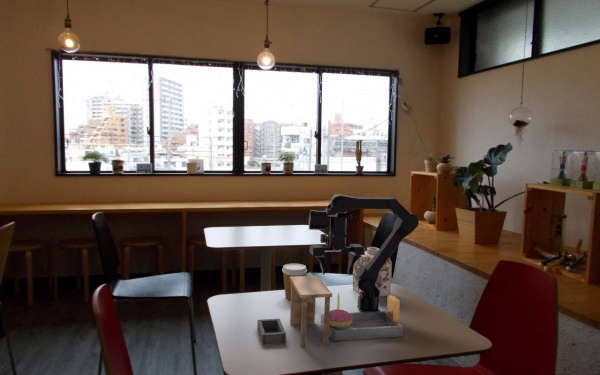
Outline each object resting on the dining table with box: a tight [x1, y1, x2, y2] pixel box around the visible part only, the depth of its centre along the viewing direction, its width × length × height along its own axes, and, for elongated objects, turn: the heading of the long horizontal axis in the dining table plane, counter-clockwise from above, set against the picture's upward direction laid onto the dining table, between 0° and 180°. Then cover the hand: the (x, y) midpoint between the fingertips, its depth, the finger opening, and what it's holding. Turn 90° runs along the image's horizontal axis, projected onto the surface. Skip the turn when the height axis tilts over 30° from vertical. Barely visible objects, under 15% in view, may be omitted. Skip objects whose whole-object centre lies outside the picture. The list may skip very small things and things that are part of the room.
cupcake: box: [329, 293, 353, 330], centre depth 134 cm, size 9×8×12 cm
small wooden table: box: [289, 275, 333, 348], centre depth 132 cm, size 9×17×16 cm, turn 12°
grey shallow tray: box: [320, 295, 404, 342], centre depth 136 cm, size 23×13×10 cm, turn 102°
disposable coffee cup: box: [281, 263, 308, 301], centre depth 164 cm, size 10×10×12 cm
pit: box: [256, 318, 287, 346], centre depth 130 cm, size 7×11×3 cm, turn 12°
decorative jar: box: [352, 246, 393, 298], centre depth 172 cm, size 12×12×18 cm
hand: (336, 273), depth 152 cm, fingers open, 9 cm apart
